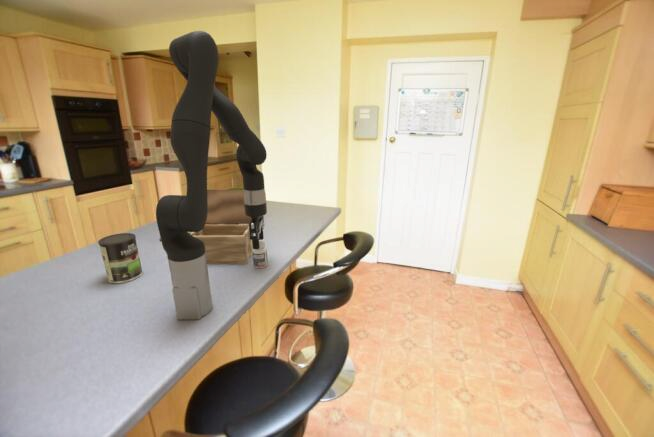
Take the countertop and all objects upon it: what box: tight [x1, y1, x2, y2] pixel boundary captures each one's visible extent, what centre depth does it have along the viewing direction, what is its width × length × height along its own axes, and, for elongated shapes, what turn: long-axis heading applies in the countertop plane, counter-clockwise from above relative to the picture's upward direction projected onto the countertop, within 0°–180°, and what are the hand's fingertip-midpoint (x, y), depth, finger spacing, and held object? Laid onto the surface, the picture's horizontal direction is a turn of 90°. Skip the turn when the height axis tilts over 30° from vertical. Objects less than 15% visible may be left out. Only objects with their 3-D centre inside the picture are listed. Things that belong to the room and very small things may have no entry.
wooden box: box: [190, 224, 253, 265], centre depth 118 cm, size 14×21×11 cm, turn 91°
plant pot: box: [224, 186, 244, 190], centre depth 188 cm, size 12×12×11 cm
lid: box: [205, 189, 251, 224], centre depth 123 cm, size 14×21×2 cm
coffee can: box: [97, 232, 144, 284], centre depth 102 cm, size 10×10×14 cm
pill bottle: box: [252, 240, 269, 269], centre depth 111 cm, size 5×5×9 cm
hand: (258, 243), depth 111 cm, fingers open, 8 cm apart
